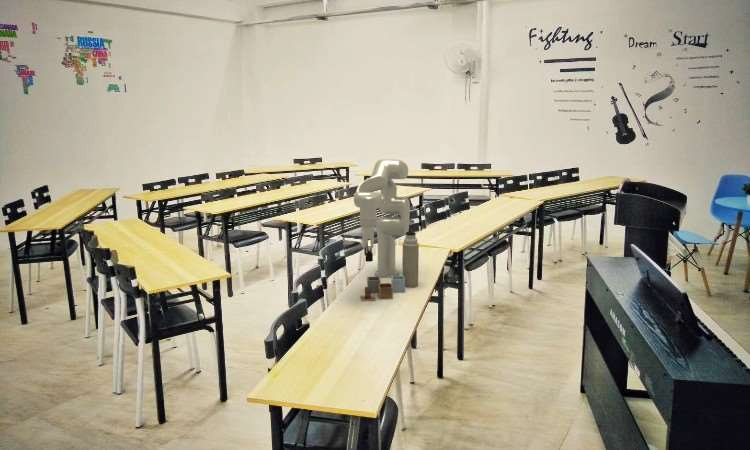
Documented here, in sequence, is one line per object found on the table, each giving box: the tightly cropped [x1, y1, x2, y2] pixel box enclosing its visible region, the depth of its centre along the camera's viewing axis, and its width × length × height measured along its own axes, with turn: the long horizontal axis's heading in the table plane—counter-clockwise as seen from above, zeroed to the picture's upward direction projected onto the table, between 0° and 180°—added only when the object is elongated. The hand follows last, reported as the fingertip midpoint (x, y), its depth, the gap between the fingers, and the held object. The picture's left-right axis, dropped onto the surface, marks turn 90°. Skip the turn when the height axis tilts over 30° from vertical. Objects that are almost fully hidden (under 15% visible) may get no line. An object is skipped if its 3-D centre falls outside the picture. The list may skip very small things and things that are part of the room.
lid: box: [359, 286, 377, 302], centre depth 254 cm, size 7×7×6 cm
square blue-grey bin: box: [390, 275, 406, 294], centre depth 264 cm, size 6×6×7 cm
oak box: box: [377, 282, 394, 300], centre depth 256 cm, size 6×6×6 cm
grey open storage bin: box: [366, 275, 381, 294], centre depth 263 cm, size 6×6×7 cm
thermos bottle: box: [401, 231, 420, 289], centre depth 269 cm, size 8×8×28 cm
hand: (368, 258), depth 250 cm, fingers open, 9 cm apart
